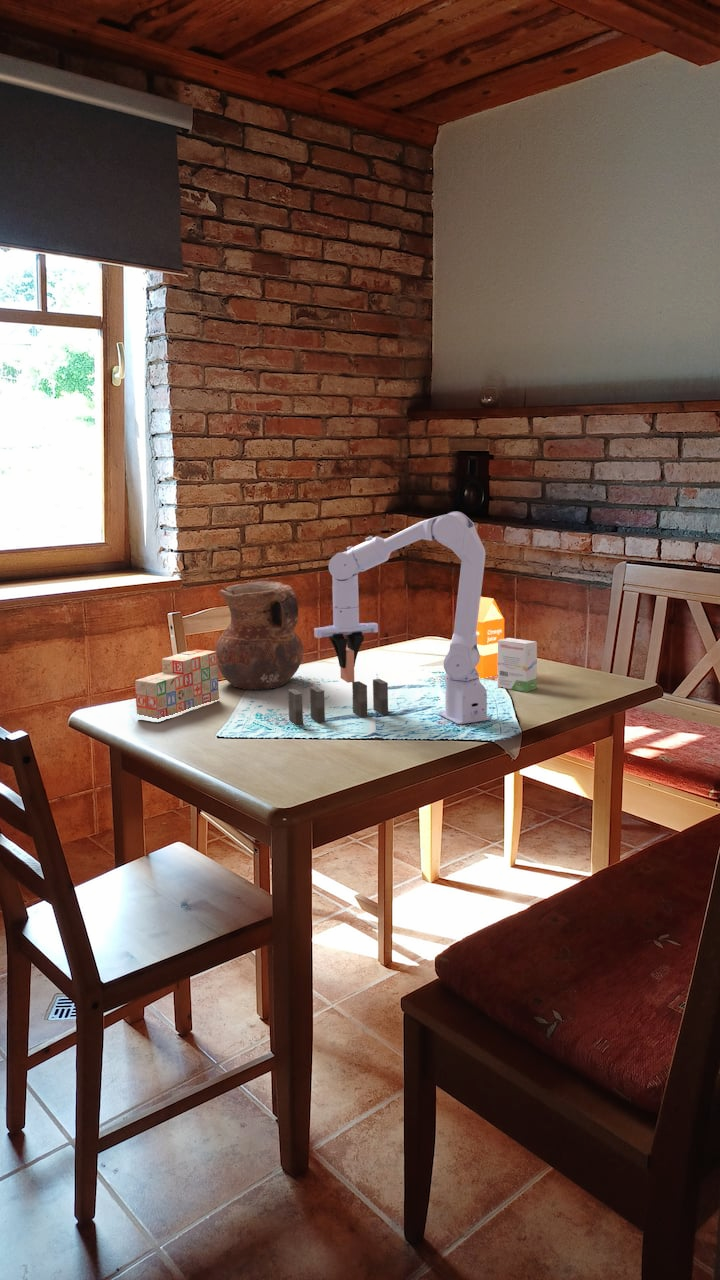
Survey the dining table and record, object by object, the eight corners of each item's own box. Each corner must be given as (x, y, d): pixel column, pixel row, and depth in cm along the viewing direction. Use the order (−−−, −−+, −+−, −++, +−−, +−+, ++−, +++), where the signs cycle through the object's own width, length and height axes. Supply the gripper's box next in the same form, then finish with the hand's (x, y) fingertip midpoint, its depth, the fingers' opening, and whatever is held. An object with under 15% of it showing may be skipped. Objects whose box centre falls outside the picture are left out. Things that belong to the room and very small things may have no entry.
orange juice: (479, 668, 257) (479, 593, 253) (504, 674, 250) (505, 596, 247) (458, 673, 252) (458, 596, 249) (483, 679, 246) (483, 600, 242)
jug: (205, 693, 237) (200, 591, 233) (228, 673, 258) (224, 579, 253) (295, 694, 234) (291, 591, 229) (311, 674, 255) (308, 579, 250)
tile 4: (303, 725, 209) (302, 693, 207) (296, 726, 208) (295, 694, 207) (296, 720, 213) (295, 689, 211) (289, 721, 212) (288, 690, 211)
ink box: (537, 688, 235) (538, 640, 233) (526, 692, 232) (526, 644, 229) (508, 683, 241) (508, 636, 238) (496, 687, 237) (496, 639, 235)
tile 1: (388, 713, 216) (387, 682, 215) (381, 714, 216) (381, 683, 214) (379, 708, 220) (379, 678, 219) (373, 709, 220) (372, 679, 218)
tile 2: (367, 716, 214) (366, 685, 213) (360, 717, 214) (360, 686, 212) (359, 711, 218) (358, 681, 217) (353, 712, 218) (352, 682, 216)
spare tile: (354, 681, 217) (354, 651, 215) (347, 682, 216) (347, 651, 215) (347, 677, 221) (346, 647, 219) (340, 678, 220) (340, 647, 219)
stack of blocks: (158, 724, 212) (154, 669, 210) (136, 721, 215) (133, 666, 213) (219, 701, 230) (217, 650, 228) (199, 698, 233) (196, 648, 231)
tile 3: (325, 722, 211) (324, 690, 209) (318, 723, 210) (317, 691, 209) (317, 717, 215) (316, 686, 213) (310, 718, 214) (309, 687, 213)
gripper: (368, 601, 222) (369, 659, 224) (308, 606, 216) (310, 666, 219) (381, 605, 215) (382, 665, 218) (319, 611, 210) (321, 672, 213)
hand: (347, 666), depth 218 cm, fingers closed on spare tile, 1 cm apart
